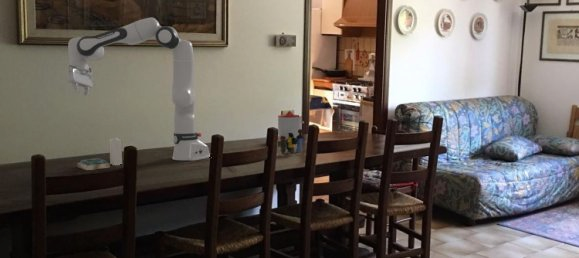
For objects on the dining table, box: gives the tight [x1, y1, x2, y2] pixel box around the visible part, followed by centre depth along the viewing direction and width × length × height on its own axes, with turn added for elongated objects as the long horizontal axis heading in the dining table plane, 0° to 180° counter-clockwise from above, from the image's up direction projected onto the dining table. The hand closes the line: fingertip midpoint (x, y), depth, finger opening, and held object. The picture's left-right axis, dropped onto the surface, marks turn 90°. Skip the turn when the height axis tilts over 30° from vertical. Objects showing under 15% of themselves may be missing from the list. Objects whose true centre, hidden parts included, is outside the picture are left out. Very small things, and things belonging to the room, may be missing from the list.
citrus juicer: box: [277, 110, 305, 142], centre depth 391 cm, size 16×17×20 cm
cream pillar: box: [108, 137, 123, 166], centre depth 311 cm, size 4×4×14 cm
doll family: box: [278, 128, 306, 157], centre depth 344 cm, size 23×9×13 cm, turn 160°
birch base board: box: [76, 157, 111, 171], centre depth 304 cm, size 12×12×4 cm
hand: (81, 93), depth 316 cm, fingers open, 8 cm apart
